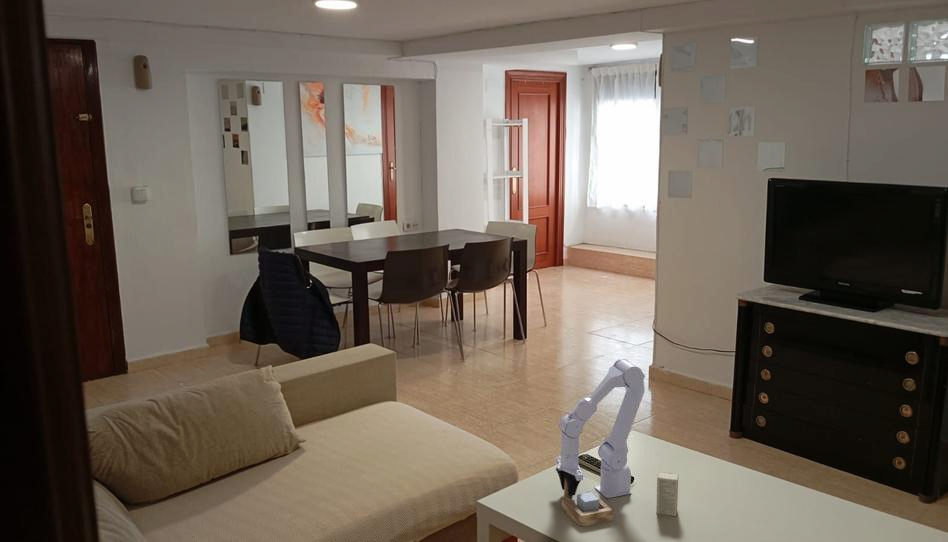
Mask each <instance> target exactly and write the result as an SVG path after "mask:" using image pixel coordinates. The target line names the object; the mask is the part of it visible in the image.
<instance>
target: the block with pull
mask: <svg viewBox="0 0 948 542" xmlns="http://www.w3.org/2000/svg"><path fill="white" fill-rule="evenodd" d="M588 492H589V493H587V492H585V493H579V494H577V495H576V499H575V498H574V495H573V496H569V495H568V487H567V482H566V479H565V482H564V490H563V497H567V498H568V499H569V500H571V501H572V502H573V503H574V504H575V505H576V506H577V507H578V508H579V509H580V510H581V511H582V512H583V513H584V512H589V511H594V510H599V498H600V497H599V498H597V497H598V496H597V495H596V494H595V493H594V492H593V491H588ZM592 492H593V493H594V494H595V495H596V496H597V497H596V496H595V495H594V494H593V493H592Z"/></svg>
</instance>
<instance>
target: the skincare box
mask: <svg viewBox="0 0 948 542" xmlns="http://www.w3.org/2000/svg"><path fill="white" fill-rule="evenodd" d="M656 481H657V482H656V483H657V484H656V511H655V512H656V514H658V515H663V516H664V515H667V516H672V517H676V516H677V513H678V503H679V502H678V499H679V498H678V497H679V474H677V473H672V472H671V473H670V472H662V471H659V472H658V473H657V476H656Z"/></svg>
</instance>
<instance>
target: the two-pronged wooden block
mask: <svg viewBox="0 0 948 542" xmlns="http://www.w3.org/2000/svg"><path fill="white" fill-rule="evenodd" d="M589 492H590V491H587V492H586V493H589ZM591 492H592V493H593V494H594V495H595V496H596V497H597V498H599V510H594V511H589V512H584V513H583V512H582V511H581V510H580V509H579V508H578V507H577V506H576V505H575V504H574V503H573V502H572V501H571V500H569V499H568V498H567V497H564V496H563V497H561V507H562V508H561V507H560V508H561V509H562V510H563V511H564V510H565V511H566V512H567V513H568V514H569V515H570V516H571V517H570V516H569V515H568V514H567V513H566V512H565V511H564V512H565V513H566V514H567V515H568V516H569V517H570V518H571V519H572V520H573V521H574V522H576V524H578V526H580V527H581V526H582V527H586V525H587V526H591V525H596V524H601V523H607V522H611V520H612V521H613V512H614V511H613V508H611V507H610V506H609V505H608V504H607V503H606V502H604V501H603V500H602V499H601V498H600V497H598V495H596V494H595V493H594V492H593V491H591ZM606 521H607V522H606Z"/></svg>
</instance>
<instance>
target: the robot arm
mask: <svg viewBox="0 0 948 542" xmlns="http://www.w3.org/2000/svg"><path fill="white" fill-rule="evenodd" d="M645 377H646V375H645V373H644V372H643V370H642V369H641V368H640V367H639V366H636V365H634V364H633V363H631V362H630V361H629V360H627V359H625V358H619V359H617V360H615V361H614V362H613V365H611V366H610V367H609V368H608V371H607V374H606V375H605V376H604V378H603V379H602V380H601V381H600V383H599V384H598V385H597V387H596V388H595V389H594V390H593V391H592V393H591V394H590V395H589V396H588V397H583V398H582V399H580V400H578V401H577V404H576V405H575V407H574V408H573V409H572V410H571V411H569V412H568V413H567V414H566V415H563V416H562V417H561V418H560V420H559V422H558V423H557V424H558V428H559V429H560V430H561V433H560V456H556V458H555V459H556V461H555V463H556V464H558V465H557V467H556V468H555V471H556V473H557V475H558V477H559V478H558V479H559V481H560V486H561V489H562V491H564V482H565V479H566V482H567V487H568V495H569V496H573V497H574V496H575V495H576V493H577V490H578V487H579V485H580V483H581V481H584V474H583V473H582V470H581V468H580V465H579V457H580V456H579V453H580V452H579V450H580V435H582V433H583V430H584V426H585V424H587V422H588V421H589V420H590V419H591V418H592V416H593V415H594V414H595V413H596V412H597V410H598V404H599V403H600V402H602V400H604V398H605V397H607V396H608V395H609V394H610V393H611V392H612V391H613V390H614V389H615V388H625V393H624V397H623V399H622V402H621V404H620V407H619V410H618V413H617V416H616V418H615V421H614V424H613V426H612V430H611V432H610V434H609V435H608V436H606V437H605V438H604V440H603V442H602V443H601V444H600V445H599V447H598V450H597V454H598V458H600V461H601V462H600V478H599V479H600V480H599V481H600V482H599V483H600V484H599V485H594V486H595V487H594V489H596V490H597V492H599V493H600V494H601V495H602V496H604V498H606V499H611V498H616V497H620V496H625V495H631V494H632V491H631V482H632V481H631V480H632V473H631V468H630V466H629V464H627V463H628V453H629V447H628V443H627V441H628V438H629V435H630V432H631V429H632V427H633V424H634V422H635V420H636V417H637V416H636V415H638V410H639V408H640V405H641V403H642V400H643V397H644V393H645V390H646V389H645V381H644V380H645Z"/></svg>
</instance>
